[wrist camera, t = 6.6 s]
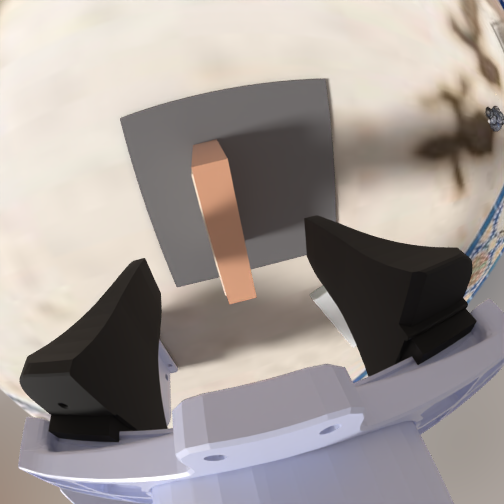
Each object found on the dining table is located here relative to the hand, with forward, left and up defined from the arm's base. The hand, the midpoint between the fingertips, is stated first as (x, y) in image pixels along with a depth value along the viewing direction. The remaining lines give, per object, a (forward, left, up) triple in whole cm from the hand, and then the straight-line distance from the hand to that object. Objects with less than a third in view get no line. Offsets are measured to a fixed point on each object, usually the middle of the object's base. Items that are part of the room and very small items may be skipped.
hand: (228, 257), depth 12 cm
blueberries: (+5, -34, -9) cm, 36 cm away
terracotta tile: (0, 0, -8) cm, 8 cm away
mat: (0, -2, -9) cm, 9 cm away
